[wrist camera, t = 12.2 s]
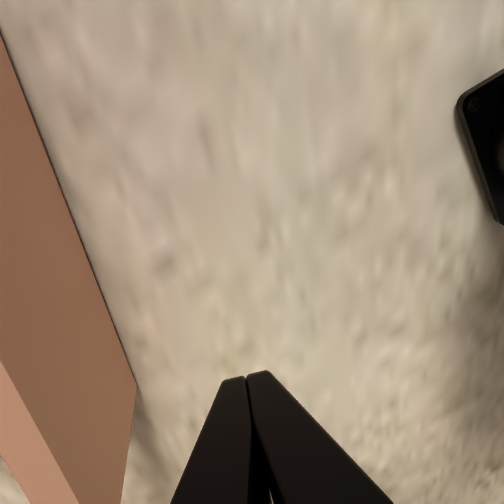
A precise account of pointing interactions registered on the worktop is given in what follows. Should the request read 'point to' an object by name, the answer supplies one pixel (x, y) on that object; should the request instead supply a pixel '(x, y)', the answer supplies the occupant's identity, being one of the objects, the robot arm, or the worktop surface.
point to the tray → (53, 333)
